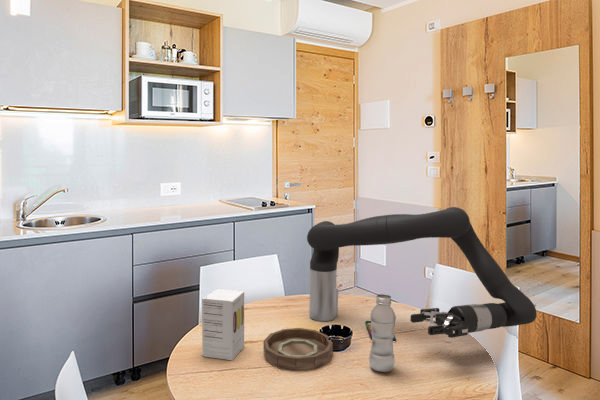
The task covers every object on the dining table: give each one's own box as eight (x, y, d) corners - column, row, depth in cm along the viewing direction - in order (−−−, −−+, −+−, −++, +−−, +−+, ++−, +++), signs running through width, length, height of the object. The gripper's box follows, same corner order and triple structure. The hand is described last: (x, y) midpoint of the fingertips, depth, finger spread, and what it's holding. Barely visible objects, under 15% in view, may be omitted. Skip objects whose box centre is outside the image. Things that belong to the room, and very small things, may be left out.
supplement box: (232, 361, 117) (232, 301, 116) (201, 357, 120) (200, 298, 118) (245, 346, 127) (245, 290, 125) (216, 342, 129) (215, 287, 127)
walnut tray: (300, 333, 135) (300, 323, 135) (345, 355, 122) (345, 343, 121) (250, 352, 123) (250, 340, 122) (294, 378, 109) (295, 365, 108)
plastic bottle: (394, 376, 110) (397, 301, 108) (368, 373, 112) (370, 299, 109) (394, 364, 117) (397, 293, 114) (369, 362, 118) (371, 291, 116)
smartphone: (387, 321, 145) (397, 340, 130) (387, 323, 145) (397, 343, 130) (364, 320, 145) (371, 340, 130) (364, 323, 145) (371, 343, 130)
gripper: (454, 297, 127) (406, 302, 122) (488, 314, 114) (435, 321, 109) (453, 321, 128) (405, 327, 123) (487, 341, 114) (434, 349, 110)
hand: (419, 324), depth 116 cm, fingers open, 8 cm apart
